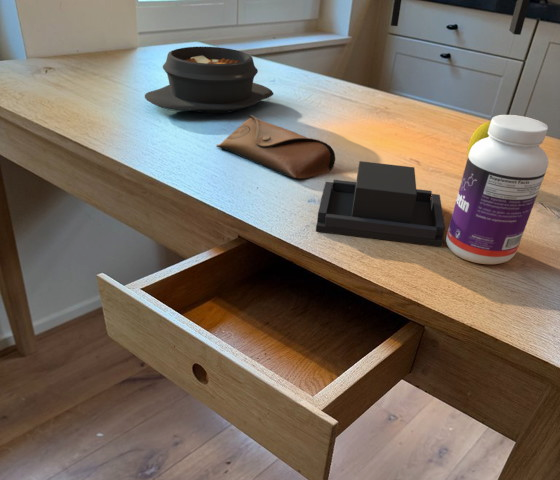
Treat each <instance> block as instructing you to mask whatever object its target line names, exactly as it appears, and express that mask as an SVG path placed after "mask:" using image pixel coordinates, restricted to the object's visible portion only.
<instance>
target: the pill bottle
mask: <svg viewBox="0 0 560 480" xmlns="http://www.w3.org/2000/svg"><path fill="white" fill-rule="evenodd" d="M490 121H491V123H490V126H489V130H488V135H489V137H488V138H484V139H482V140H479V141H478V142H476V143H475V144H474V145H473V146H472V148H471V149H470V152H469V155H468V158H467V159H466V163H465V166H464V170H463V174H462V178H461V180H460V181H461V182H460V185H459V189H458V192H457V196H456V200H455V204H454V207H453V210H452V215H451V217H450V221H449V225H448V229H447V233H446V238H445V243H446V245H447V247H448V248H449V250H450V251H451V252H452V253H453V254H454V255H456V256H457V257H459V258H460V259H463V260H465V261H468V262H471V263H476V264H481V265H482V264H483V265H498V264H504V263H506V262H508V261H510V260H511V259H513V257H514V256H516V254H517V252H518V249H519V246H520V244H521V240H522V238H523V235H524V233H525V229H526V227H527V224H528V221H529V219H530V216H531V214H532V211H533V208H534V205H535V202H536V199H537V197H538V195H539V191H540V189H541V186H542V184H543V181H544V178H545V175H546V173H547V170H548V167H549V157H548V155H547V153H546V151H545V150H544V149H543V148H542V147H540V145H542V144H543V143H544V141H545V139H546V136H547V132H548V130H549V127H548V125H547V124H546V123H544V122H543V121H541V120H537V119H535V118H533V117H532V118H531V117H527V116H522V115H515V114H499V115H495V116H493V117H492V118H491V120H490Z"/></svg>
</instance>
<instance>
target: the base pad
mask: <svg viewBox="0 0 560 480" xmlns="http://www.w3.org/2000/svg"><path fill="white" fill-rule="evenodd" d="M355 187H356V181H350V180H340V179H333V180H332V181H325V182H324V187H323V190H322V195H321V199H320V203H319V207H318V210H317V211H318V212H317V219H316V220H317V221H316V225H315V232H318V233H326V234H333V235H334V234H335V235H344V236H351V237H358V238H367V239H376V240H382V241H391V242H399V243H407V244H416V245H424V246H430V247H431V246H433V247H443V243H444V234H445V231H446V225H445V219H444V212H443V206H442V201H441V195H440V194H436V193H433V192H432V190H429V189H427V190H426V189H418V188H416V191H417V197H416V201H415V206H414V210H413V215H412V219H411V224H408V223H400V222H392V221H384V220H375V219H367V218H359V217H352V209H353V201H354V194H355Z"/></svg>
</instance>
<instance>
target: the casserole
mask: <svg viewBox="0 0 560 480" xmlns="http://www.w3.org/2000/svg"><path fill="white" fill-rule="evenodd" d="M253 58H254V57H252V55H250V54H249V53H247V52H245V51H240V50H237V49H233V48H228V47H219V46H218V47H217V46H186V47H180V48H175V49H173V50H170V51H169V52H168V53H167V56H166V60H165V62H164V64H163V65H162V69H163V71H164V72H165V73H166V75H167V80H168V85H165V86H163V87H161V88H158V89H155V90H151V91H148V92H146V93H145V94H144V99H145V100H146V101H147V102H149V103H150V104H152V105H155V106H157V107H159V108H162V109H166V110H172V111H177V112H178V111H180V112H181V111H183V112H185V111H193V112H198V113H202V114H203V113H204V114H226V113H227V114H228V113H232V112H235V111H240V110H241V109H244V108H248V107H251V106H254V105H255V104H258V103H260V102H261V101H262V100H266V99H269V98H271V97H273V96H274V92H273V91H272V90H271V88H269V87H267V86H265V85H262V84H259V83H256V82H254V80H255V76H256V75H257V74H258V72H259V70H258V68H257V67H256V66H255V62H254V59H253Z"/></svg>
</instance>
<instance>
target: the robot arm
mask: <svg viewBox="0 0 560 480" xmlns="http://www.w3.org/2000/svg"><path fill="white" fill-rule="evenodd" d="M530 1H531V0H516V2H515V7H514V11H513V14H512V18H511V22H510V25H509V32H510V33H511V34H513V35H518V36H521V34H522V31H523V27H524V23H525V20H526V16H527V12H528V9H529V6H530ZM401 6H402V0H393V1H392V8H391V14H390V21H389V22H390V26H392V27H398V26H399V20H400V19H399V18H400V13H401V12H400V11H401Z"/></svg>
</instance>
